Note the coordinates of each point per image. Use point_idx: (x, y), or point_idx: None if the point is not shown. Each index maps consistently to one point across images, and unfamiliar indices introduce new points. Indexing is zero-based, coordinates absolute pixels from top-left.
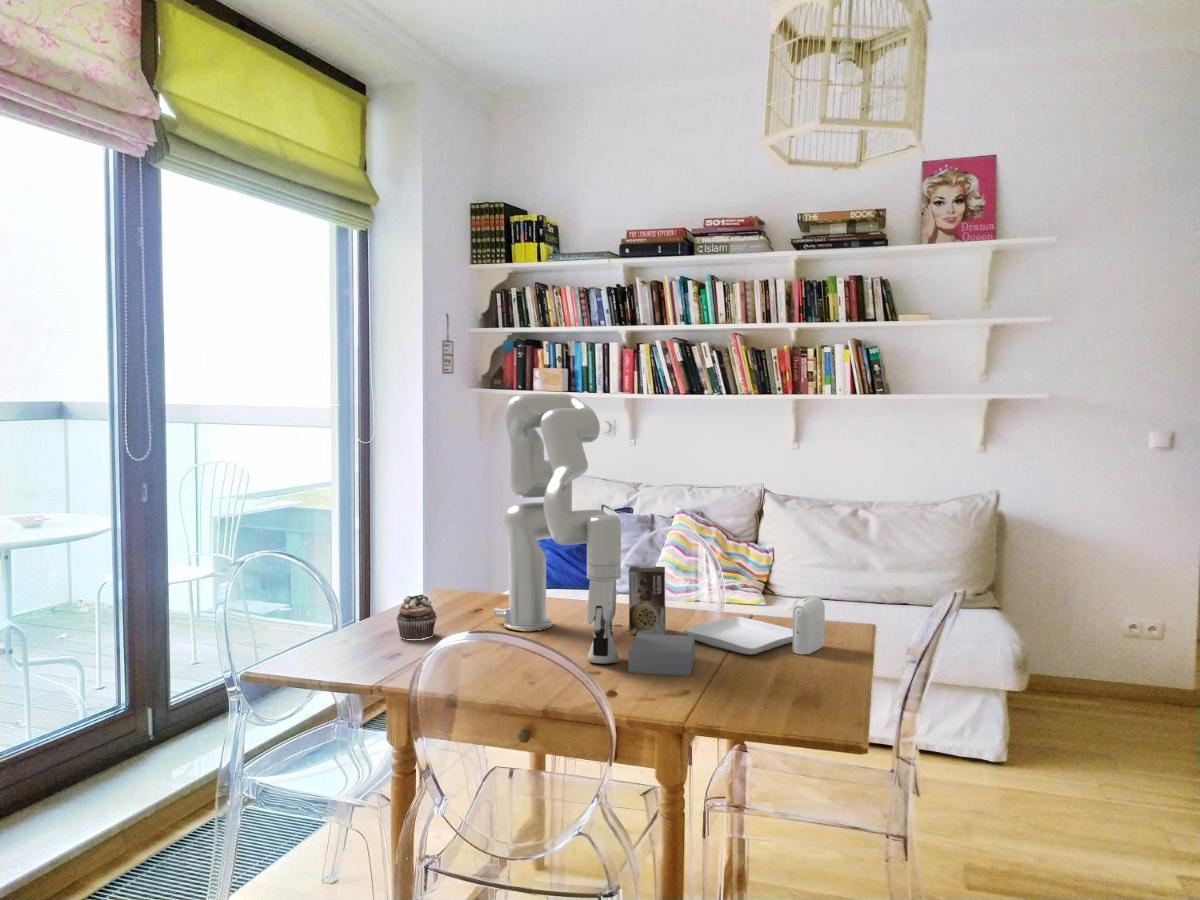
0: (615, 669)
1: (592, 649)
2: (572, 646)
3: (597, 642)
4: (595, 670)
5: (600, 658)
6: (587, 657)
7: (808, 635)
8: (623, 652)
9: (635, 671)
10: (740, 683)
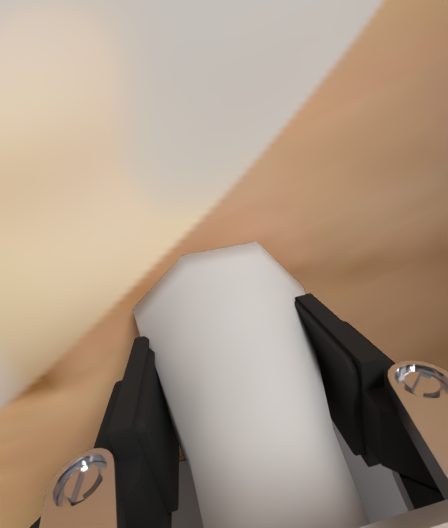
0: None
1: (170, 325)
2: (444, 32)
3: (101, 445)
4: (64, 355)
5: None
6: (178, 265)
7: None
8: (390, 341)
9: None
10: None
